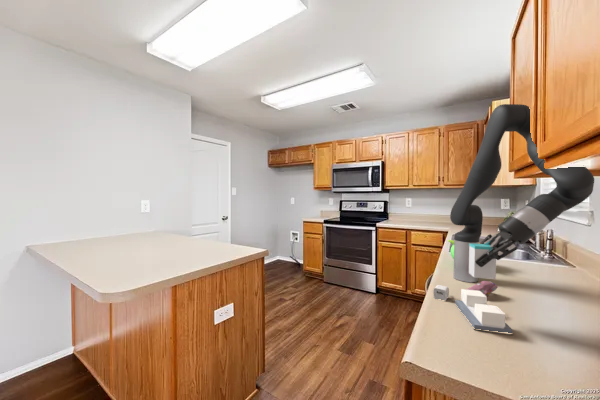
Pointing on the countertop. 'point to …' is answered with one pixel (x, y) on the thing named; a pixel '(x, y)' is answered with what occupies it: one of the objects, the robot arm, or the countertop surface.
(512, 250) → the robot arm
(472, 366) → the countertop surface
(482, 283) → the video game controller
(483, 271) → the teal and white module
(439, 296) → the usb wall charger
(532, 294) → the countertop surface
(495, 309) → the board
